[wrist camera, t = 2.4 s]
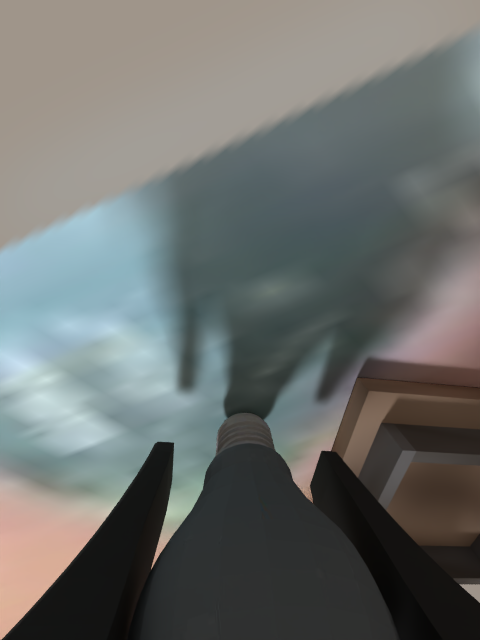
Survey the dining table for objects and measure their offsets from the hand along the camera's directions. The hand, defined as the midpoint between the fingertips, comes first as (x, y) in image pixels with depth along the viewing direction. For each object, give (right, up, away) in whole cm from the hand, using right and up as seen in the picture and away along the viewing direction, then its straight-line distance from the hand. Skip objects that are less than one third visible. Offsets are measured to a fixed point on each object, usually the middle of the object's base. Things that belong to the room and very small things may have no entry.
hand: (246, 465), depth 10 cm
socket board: (+10, -3, +5) cm, 12 cm away
